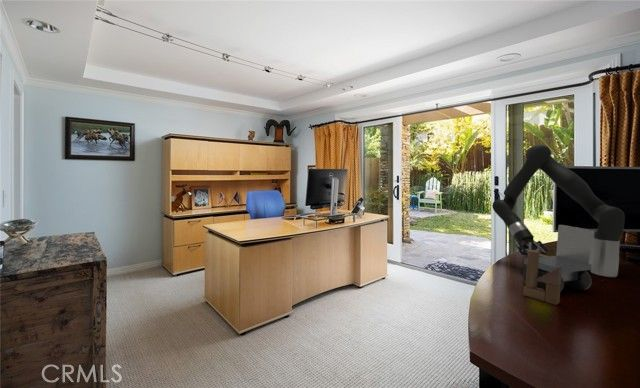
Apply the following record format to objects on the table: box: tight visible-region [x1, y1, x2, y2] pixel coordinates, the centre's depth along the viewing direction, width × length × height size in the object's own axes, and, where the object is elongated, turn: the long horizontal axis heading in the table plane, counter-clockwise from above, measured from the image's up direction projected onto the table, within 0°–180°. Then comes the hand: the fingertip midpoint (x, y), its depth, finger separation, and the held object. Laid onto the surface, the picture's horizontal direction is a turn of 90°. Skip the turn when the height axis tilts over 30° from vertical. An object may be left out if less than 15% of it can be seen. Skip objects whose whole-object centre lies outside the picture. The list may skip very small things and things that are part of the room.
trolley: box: [522, 224, 595, 293], centre depth 126 cm, size 20×16×25 cm
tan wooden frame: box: [522, 250, 562, 306], centre depth 114 cm, size 4×11×18 cm, turn 36°
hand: (541, 261), depth 140 cm, fingers open, 8 cm apart
